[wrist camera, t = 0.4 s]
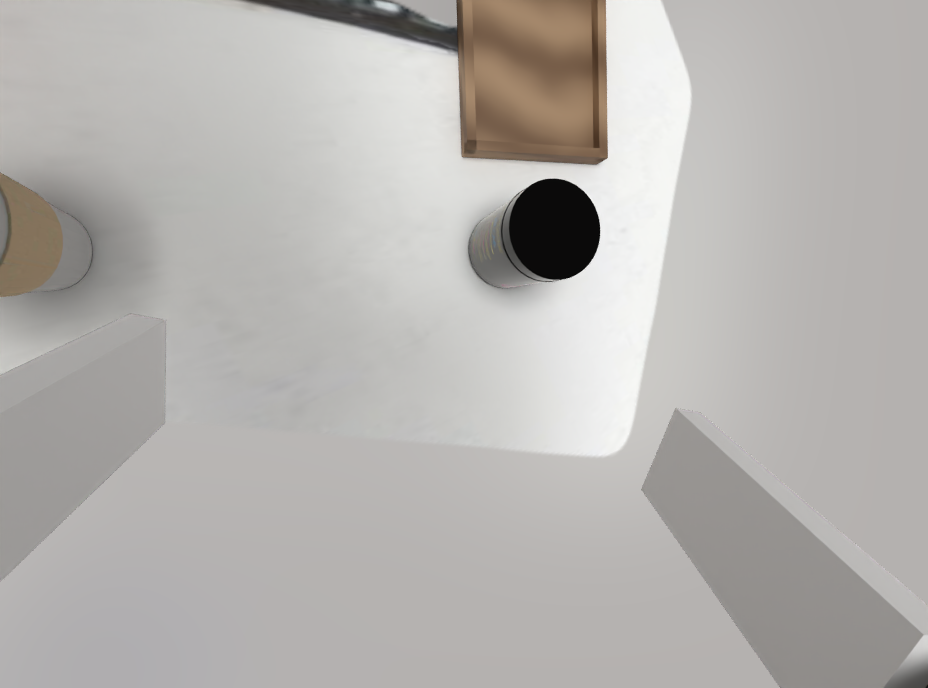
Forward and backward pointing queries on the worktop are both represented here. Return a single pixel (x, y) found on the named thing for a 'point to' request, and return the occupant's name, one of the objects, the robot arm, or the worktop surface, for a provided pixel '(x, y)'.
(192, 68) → the worktop surface
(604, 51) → the tray
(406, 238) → the worktop surface
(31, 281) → the coffee cup
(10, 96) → the worktop surface
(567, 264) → the supplement container
